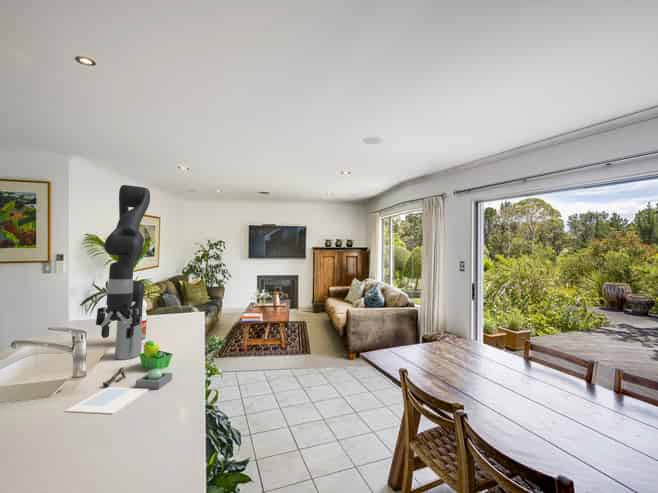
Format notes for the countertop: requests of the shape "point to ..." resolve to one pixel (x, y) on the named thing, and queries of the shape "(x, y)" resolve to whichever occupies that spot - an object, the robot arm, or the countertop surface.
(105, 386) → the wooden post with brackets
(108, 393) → the paper sheet
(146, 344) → the fruit basket
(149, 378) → the button
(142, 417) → the countertop surface
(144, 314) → the fruit juice
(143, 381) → the button housing
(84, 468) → the countertop surface
